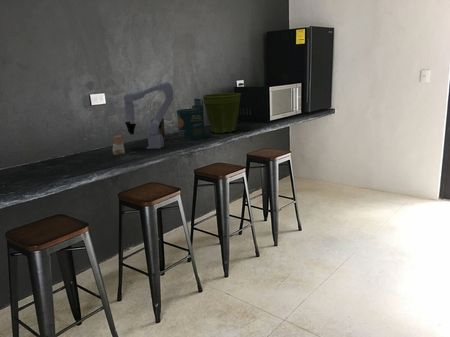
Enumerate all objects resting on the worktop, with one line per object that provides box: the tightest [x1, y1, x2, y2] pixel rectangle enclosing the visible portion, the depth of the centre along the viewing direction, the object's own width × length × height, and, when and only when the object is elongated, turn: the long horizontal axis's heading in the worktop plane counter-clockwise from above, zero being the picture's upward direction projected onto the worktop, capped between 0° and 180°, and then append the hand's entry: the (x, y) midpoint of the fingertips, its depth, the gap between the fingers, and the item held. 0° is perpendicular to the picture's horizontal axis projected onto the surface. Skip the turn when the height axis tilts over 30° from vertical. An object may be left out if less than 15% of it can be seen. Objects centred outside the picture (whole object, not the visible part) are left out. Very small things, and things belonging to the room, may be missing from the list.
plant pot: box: [202, 92, 242, 134], centre depth 294 cm, size 30×30×29 cm
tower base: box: [111, 148, 126, 156], centre depth 239 cm, size 6×6×3 cm
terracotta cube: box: [112, 134, 125, 145], centre depth 238 cm, size 4×4×5 cm
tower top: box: [112, 143, 125, 150], centre depth 238 cm, size 6×6×3 cm
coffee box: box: [150, 117, 166, 142], centre depth 271 cm, size 9×6×16 cm
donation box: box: [176, 97, 206, 142], centre depth 272 cm, size 16×16×28 cm
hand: (131, 133), depth 246 cm, fingers open, 7 cm apart
